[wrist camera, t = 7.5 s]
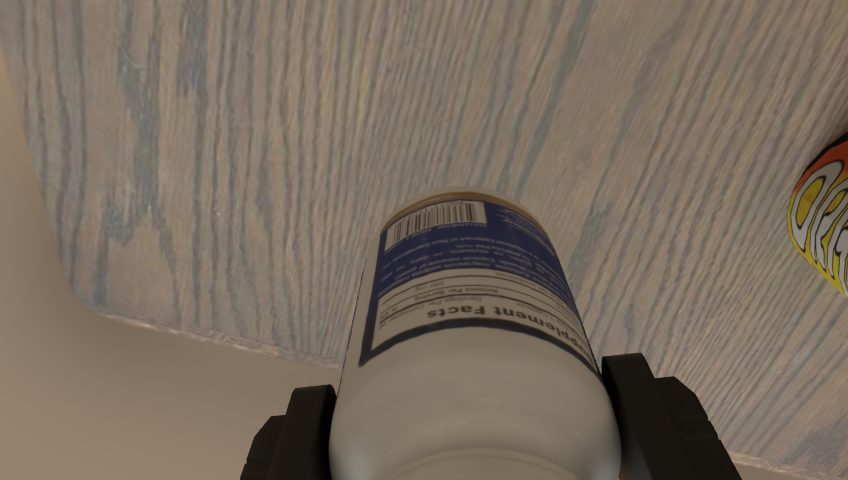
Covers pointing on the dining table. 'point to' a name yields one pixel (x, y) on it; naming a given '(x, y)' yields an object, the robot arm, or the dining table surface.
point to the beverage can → (823, 214)
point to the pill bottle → (469, 353)
